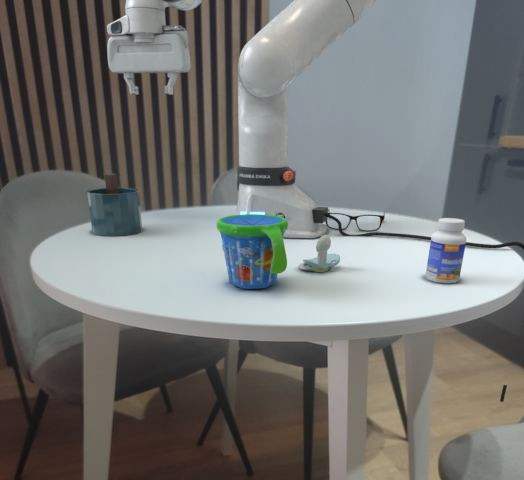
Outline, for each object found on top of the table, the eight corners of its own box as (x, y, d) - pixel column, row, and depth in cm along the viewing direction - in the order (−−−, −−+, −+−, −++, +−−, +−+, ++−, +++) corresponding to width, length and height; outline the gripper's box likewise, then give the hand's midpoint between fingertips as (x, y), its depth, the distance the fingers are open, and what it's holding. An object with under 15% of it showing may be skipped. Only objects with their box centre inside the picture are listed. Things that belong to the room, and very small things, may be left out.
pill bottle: (440, 285, 80) (450, 224, 75) (418, 276, 84) (426, 218, 80) (466, 281, 82) (477, 221, 77) (443, 273, 86) (452, 216, 82)
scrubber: (130, 227, 117) (124, 173, 112) (119, 230, 113) (113, 175, 108) (114, 226, 118) (107, 172, 113) (103, 229, 114) (96, 174, 109)
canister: (151, 228, 119) (147, 189, 115) (125, 237, 109) (120, 195, 106) (110, 224, 122) (106, 186, 118) (82, 233, 112) (76, 192, 109)
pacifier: (290, 269, 88) (315, 276, 83) (291, 234, 85) (316, 238, 81) (319, 263, 92) (344, 268, 88) (320, 228, 90) (346, 233, 85)
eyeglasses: (322, 229, 119) (323, 212, 117) (328, 219, 132) (329, 203, 130) (382, 233, 116) (384, 215, 114) (383, 221, 129) (385, 206, 127)
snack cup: (204, 274, 84) (202, 213, 80) (260, 267, 88) (261, 209, 84) (242, 303, 71) (241, 231, 67) (305, 293, 75) (308, 225, 71)
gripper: (193, 27, 113) (196, 95, 119) (116, 30, 119) (122, 95, 125) (181, 22, 108) (184, 93, 114) (100, 26, 114) (107, 94, 120)
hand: (151, 94), depth 119 cm, fingers open, 8 cm apart
